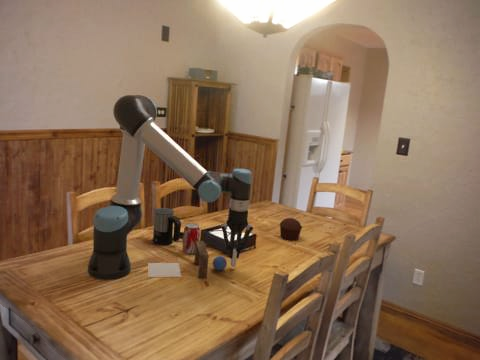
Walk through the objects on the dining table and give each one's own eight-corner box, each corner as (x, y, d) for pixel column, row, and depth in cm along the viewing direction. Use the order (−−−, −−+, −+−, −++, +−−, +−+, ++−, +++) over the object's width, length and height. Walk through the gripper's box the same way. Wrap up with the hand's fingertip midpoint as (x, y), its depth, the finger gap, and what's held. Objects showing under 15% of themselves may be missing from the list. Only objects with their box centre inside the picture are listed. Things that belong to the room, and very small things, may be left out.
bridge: (198, 278, 149) (200, 255, 147) (194, 262, 163) (196, 240, 161) (206, 278, 150) (208, 255, 148) (201, 262, 163) (203, 240, 161)
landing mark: (148, 277, 146) (148, 277, 146) (148, 263, 157) (148, 263, 157) (181, 277, 149) (181, 276, 148) (178, 263, 160) (178, 263, 160)
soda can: (195, 256, 169) (197, 229, 166) (179, 253, 170) (181, 226, 167) (200, 250, 175) (202, 224, 173) (185, 247, 177) (187, 221, 174)
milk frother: (148, 243, 177) (149, 211, 174) (163, 232, 192) (165, 203, 189) (178, 249, 174) (180, 216, 171) (191, 237, 189) (193, 207, 186)
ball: (230, 265, 156) (221, 275, 156) (227, 259, 161) (218, 269, 161) (220, 257, 154) (211, 267, 154) (218, 251, 159) (208, 261, 159)
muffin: (304, 241, 199) (307, 222, 197) (285, 242, 195) (287, 223, 193) (293, 233, 210) (295, 215, 207) (274, 234, 205) (276, 215, 203)
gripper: (224, 211, 149) (218, 269, 154) (257, 212, 152) (250, 269, 157) (220, 205, 156) (215, 261, 161) (252, 206, 159) (246, 261, 164)
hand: (232, 265), depth 159 cm, fingers closed
